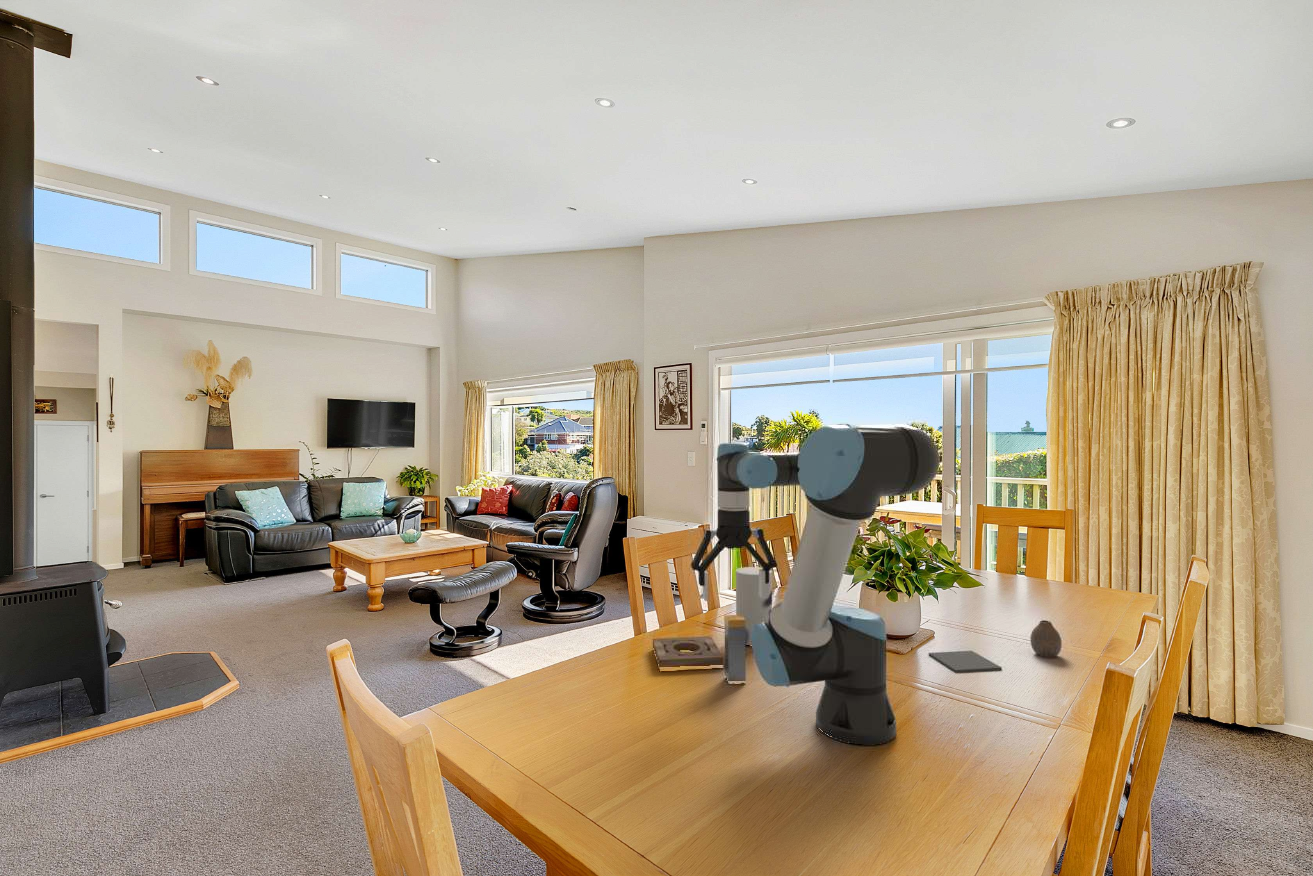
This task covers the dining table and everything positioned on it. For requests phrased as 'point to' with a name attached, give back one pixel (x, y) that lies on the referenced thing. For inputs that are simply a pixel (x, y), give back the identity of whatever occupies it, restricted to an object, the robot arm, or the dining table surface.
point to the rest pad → (964, 661)
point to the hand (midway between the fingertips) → (734, 598)
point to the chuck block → (701, 655)
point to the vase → (1046, 640)
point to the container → (752, 599)
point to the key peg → (735, 648)
